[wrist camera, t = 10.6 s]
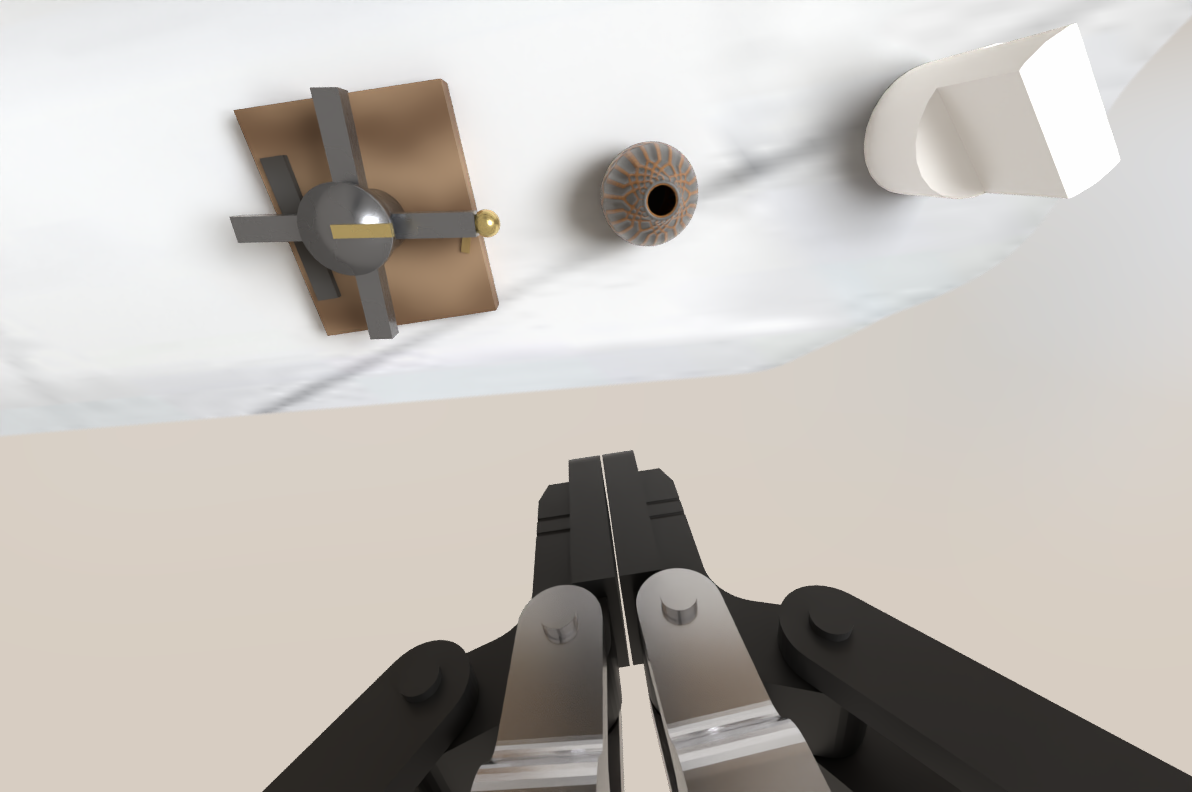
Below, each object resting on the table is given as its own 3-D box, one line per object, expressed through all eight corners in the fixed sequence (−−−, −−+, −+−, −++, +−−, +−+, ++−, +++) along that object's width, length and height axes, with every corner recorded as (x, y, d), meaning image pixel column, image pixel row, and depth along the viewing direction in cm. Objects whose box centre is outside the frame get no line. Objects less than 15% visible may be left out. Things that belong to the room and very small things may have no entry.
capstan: (299, 326, 37) (254, 353, 32) (228, 97, 30) (155, 82, 25) (514, 319, 38) (506, 345, 33) (493, 95, 31) (478, 80, 26)
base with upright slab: (997, 135, 37) (1177, 123, 26) (894, 218, 39) (1020, 238, 28) (952, 29, 33) (1136, -35, 23) (843, 127, 36) (963, 111, 25)
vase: (630, 255, 39) (647, 278, 31) (579, 183, 36) (584, 188, 28) (699, 202, 37) (736, 212, 30) (652, 122, 35) (679, 110, 27)
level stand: (251, 113, 33) (226, 109, 30) (447, 83, 33) (437, 76, 30) (338, 328, 40) (323, 338, 38) (498, 303, 40) (494, 312, 38)
